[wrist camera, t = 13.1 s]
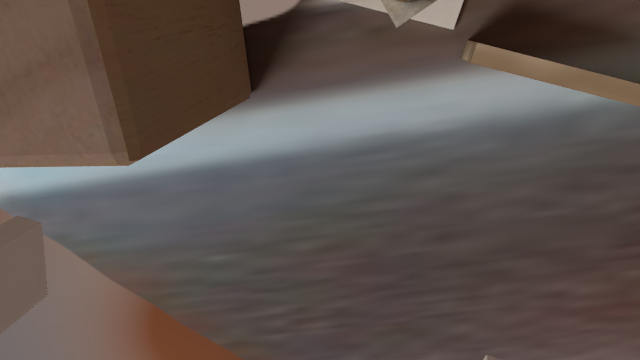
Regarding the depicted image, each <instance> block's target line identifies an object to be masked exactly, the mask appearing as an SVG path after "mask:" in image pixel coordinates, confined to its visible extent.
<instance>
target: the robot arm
mask: <svg viewBox="0 0 640 360" xmlns="http://www.w3.org/2000/svg"><path fill="white" fill-rule="evenodd" d="M47 295H48V291H47V279H46V267H45V256H44V245H43V233H42V223H40V222H37V221H33V220H30V219H27V218H23V217H20V216H16V217H14V218H12V219H10V220H8V221H7V222H5V223H3V224H1V225H0V334H1V333H3V332H4V331H5V330H6V329H7V328H8V327H10V326H11V325H12V324H13V323H15V322H16V321H17V320H18V319H19V318H20V317H22V316H23V315H24V314H25V313H27V312H28V311H29V310H30V309H31V308H33V307H34V306H35V305H36V304H37V303H39V302H40V301H41V300H42V299H44V298H45V297H46V296H47ZM484 360H501V359H497V358H494V357H491V356H487V355H486V356H485V358H484Z"/></svg>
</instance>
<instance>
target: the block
mask: <svg viewBox="0 0 640 360" xmlns="http://www.w3.org/2000/svg"><path fill="white" fill-rule="evenodd" d="M250 93H251V85H250V78H249V70H248V63H247V55H246V48H245V41H244V33H243V26H242V18H241V12H240V3H239V0H0V167H63V166H128V165H130V164H132V163H134V162H136V161H138V160H140V159H142V158H143V157H145V156H147V155H149V154H151V153H152V152H154V151H156V150H158V149H160V148H161V147H163V146H165V145H167V144H168V143H170V142H172V141H174V140H176V139H177V138H179V137H181V136H183V135H184V134H186V133H188V132H190V131H192V130H193V129H195V128H197V127H199V126H200V125H202V124H204V123H206V122H208V121H209V120H211V119H213V118H215V117H216V116H218V115H220V114H222V113H224V112H225V111H227V110H229V109H231V108H233V107H234V106H236V105H238V104H240V103H241V102H243V101H245V100H247V99H249V97H250Z"/></svg>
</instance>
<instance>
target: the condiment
mask: <svg viewBox="0 0 640 360" xmlns="http://www.w3.org/2000/svg"><path fill="white" fill-rule="evenodd" d="M435 1H437V0H381V2H382V3H383V5H384V7H385V9H386V10H387V12H388V14H389V16H390V17H391V19H392V21H393V23H394V24H395V26H396V28H397V27H398V26H400V25H401V24H403V23H404V22H406V21H407V20H409V19H410V18H412V17H413V16H415V15H416V14H418V13H419V12H420V11H422V10H423V9H425V8H426V7H428V6H429V5H431V4H432V3H434V2H435Z"/></svg>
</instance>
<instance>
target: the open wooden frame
mask: <svg viewBox="0 0 640 360" xmlns="http://www.w3.org/2000/svg"><path fill="white" fill-rule="evenodd" d="M461 58H462V59H464V60H466V61H468V62H470V63H473V64H477V65H481V66H485V67H489V68H493V69H496V70H500V71H504V72H508V73H512V74H516V75H520V76H524V77H527V78H531V79H535V80H539V81H543V82H547V83H551V84H555V85H558V86H562V87H566V88H570V89H574V90H578V91H582V92H586V93H589V94H593V95H597V96H601V97H605V98H609V99H613V100H616V101H620V102H624V103H628V104H632V105H636V106H640V84H638V83H634V82H630V81H626V80H622V79H618V78H614V77H610V76H606V75H602V74H599V73H595V72H591V71H587V70H583V69H579V68H575V67H571V66H567V65H563V64H559V63H555V62H552V61H548V60H544V59H540V58H536V57H532V56H528V55H524V54H520V53H516V52H512V51H508V50H504V49H501V48H497V47H493V46H489V45H485V44H481V43H477V42H473V41H469V40H467V43H466V45H465V48H464V51H463V54H462V56H461Z"/></svg>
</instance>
